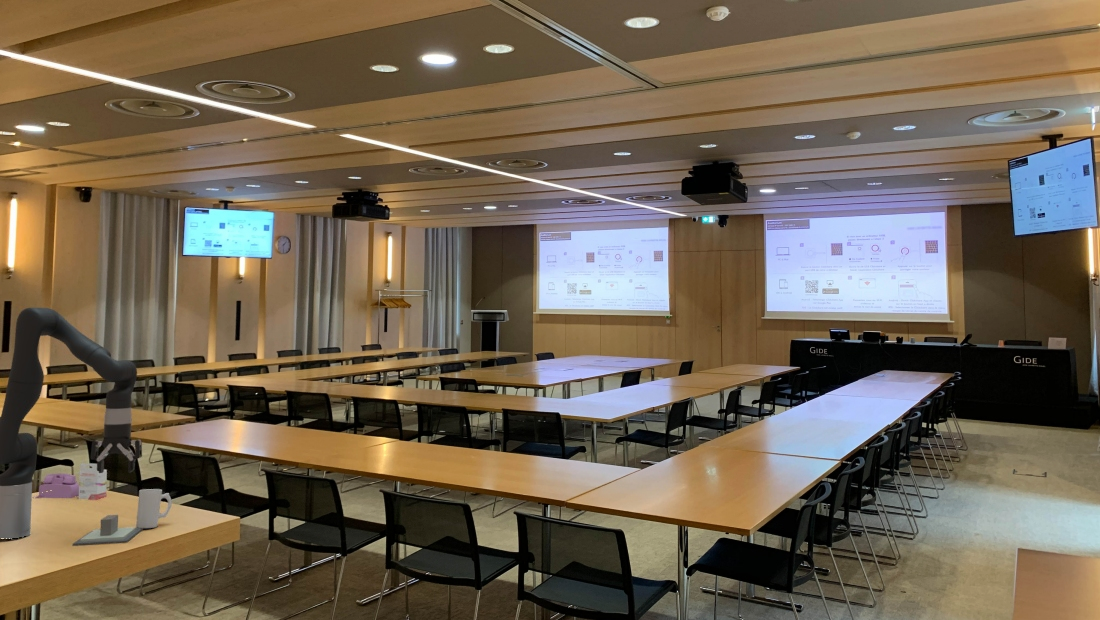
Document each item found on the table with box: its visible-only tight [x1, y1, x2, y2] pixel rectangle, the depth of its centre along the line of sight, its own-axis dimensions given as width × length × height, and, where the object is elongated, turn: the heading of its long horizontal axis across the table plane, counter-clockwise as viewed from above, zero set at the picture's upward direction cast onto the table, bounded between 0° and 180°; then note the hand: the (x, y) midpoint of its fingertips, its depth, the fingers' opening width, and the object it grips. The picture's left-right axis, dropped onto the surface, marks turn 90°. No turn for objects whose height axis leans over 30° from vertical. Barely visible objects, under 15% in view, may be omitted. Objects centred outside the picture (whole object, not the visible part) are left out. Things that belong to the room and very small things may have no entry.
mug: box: [135, 488, 172, 529], centre depth 237 cm, size 10×7×12 cm, turn 120°
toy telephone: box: [32, 472, 79, 499], centre depth 280 cm, size 18×6×10 cm, turn 83°
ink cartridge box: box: [78, 462, 108, 501], centre depth 277 cm, size 9×5×15 cm, turn 81°
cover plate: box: [79, 514, 137, 542], centre depth 224 cm, size 12×12×6 cm
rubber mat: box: [72, 527, 144, 547], centre depth 224 cm, size 15×15×1 cm
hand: (115, 472), depth 227 cm, fingers open, 8 cm apart
